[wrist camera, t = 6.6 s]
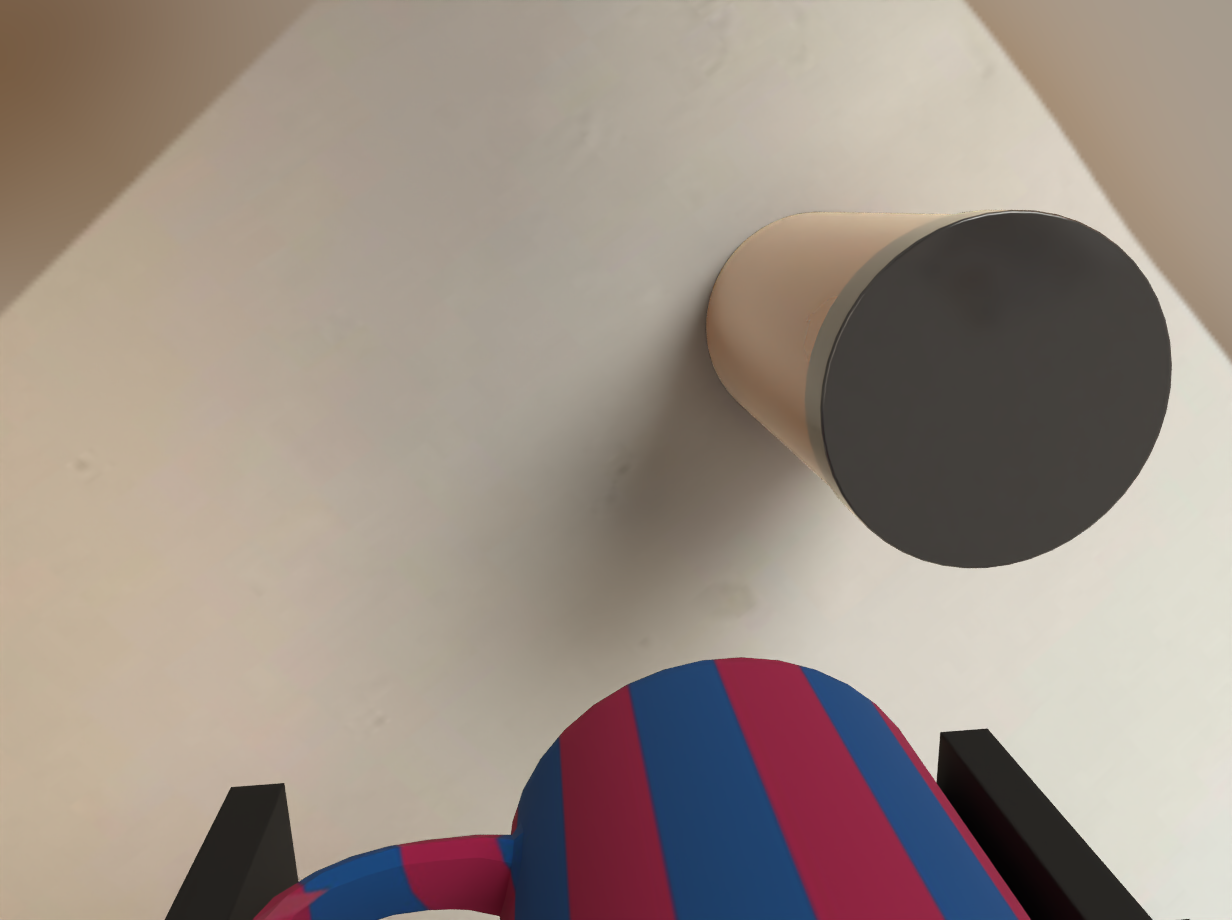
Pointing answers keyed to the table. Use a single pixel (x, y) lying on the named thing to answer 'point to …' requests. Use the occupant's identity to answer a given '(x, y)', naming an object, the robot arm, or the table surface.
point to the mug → (698, 819)
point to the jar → (949, 371)
